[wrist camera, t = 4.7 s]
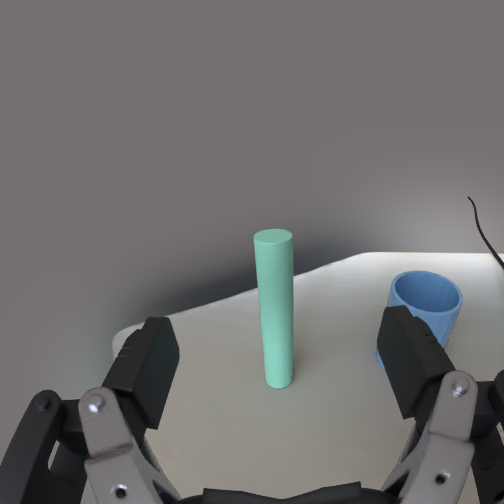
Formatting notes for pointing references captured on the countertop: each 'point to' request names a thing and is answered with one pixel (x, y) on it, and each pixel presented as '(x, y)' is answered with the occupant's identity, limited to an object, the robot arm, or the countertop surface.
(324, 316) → the countertop surface
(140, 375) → the robot arm
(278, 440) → the countertop surface
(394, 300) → the cup
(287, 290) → the mint green tapered cylinder
